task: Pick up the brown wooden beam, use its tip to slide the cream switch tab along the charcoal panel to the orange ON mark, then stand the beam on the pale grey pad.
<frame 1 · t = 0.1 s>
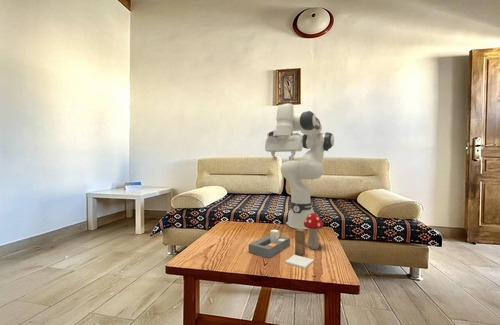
hand: (282, 160, 122), 39 cm above the table, tool pointing down, fingers open, 8 cm apart
brown wooden beam: (299, 254, 97), on the table
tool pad: (299, 262, 90), on the table
switch panel: (270, 248, 103), on the table
decorative mushroom: (313, 247, 107), on the table
switch tab: (274, 236, 107), point 4 cm above the table, slide at 0.0 cm
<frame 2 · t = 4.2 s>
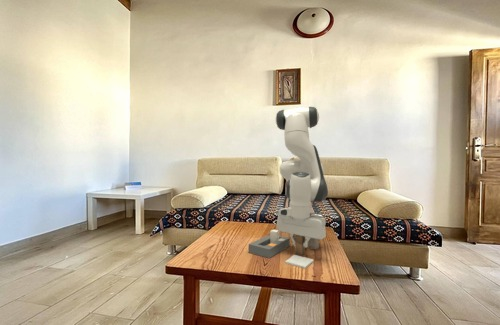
hand: (300, 245, 97), 4 cm above the table, tool pointing down, fingers closed on brown wooden beam, 3 cm apart
brown wooden beam: (299, 254, 97), on the table, touching gripper
everything else where it was.
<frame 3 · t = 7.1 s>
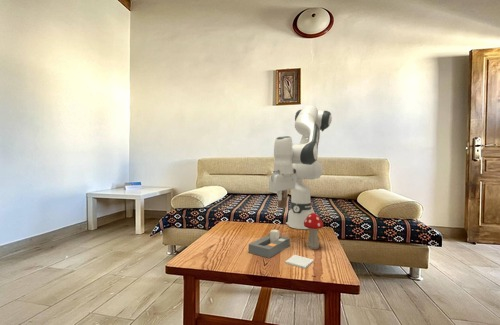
hand: (282, 199, 112), 20 cm above the table, tool pointing down, fingers closed on brown wooden beam, 3 cm apart
brown wooden beam: (282, 207, 112), point 16 cm above the table, touching gripper
everything else where it was.
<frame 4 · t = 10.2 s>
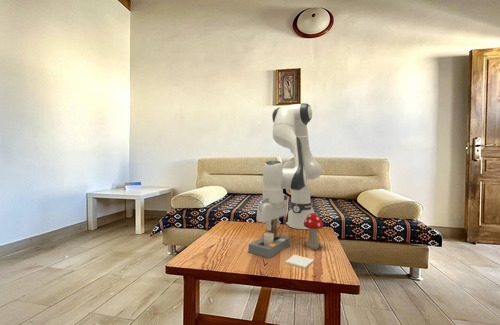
hand: (272, 228, 105), 8 cm above the table, tool pointing down, fingers closed on brown wooden beam, 3 cm apart
brown wooden beam: (272, 237, 105), point 5 cm above the table, touching gripper, switch tab
switch tab: (268, 239, 102), point 4 cm above the table, slide at 5.2 cm, touching brown wooden beam
everything else where it was.
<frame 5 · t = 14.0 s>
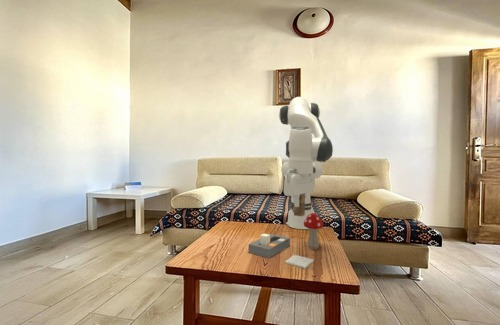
hand: (299, 205, 90), 21 cm above the table, tool pointing down, fingers closed on brown wooden beam, 3 cm apart
brown wooden beam: (299, 215, 90), point 18 cm above the table, touching gripper
switch tab: (265, 241, 100), point 4 cm above the table, slide at 8.0 cm
everything else where it was.
when the fingers open (5 cm above the table, at t = 17.3 s): brown wooden beam stays where it is, resting on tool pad.
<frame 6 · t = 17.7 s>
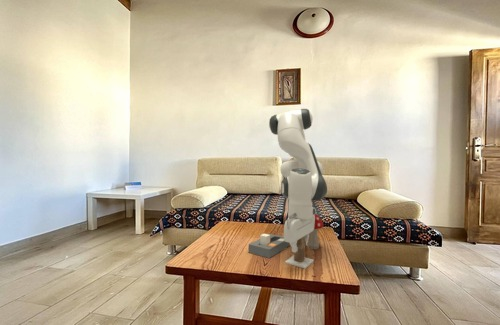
hand: (299, 248, 90), 5 cm above the table, tool pointing down, fingers open, 7 cm apart
brown wooden beam: (299, 260, 90), point 1 cm above the table, touching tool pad
everything else where it was.
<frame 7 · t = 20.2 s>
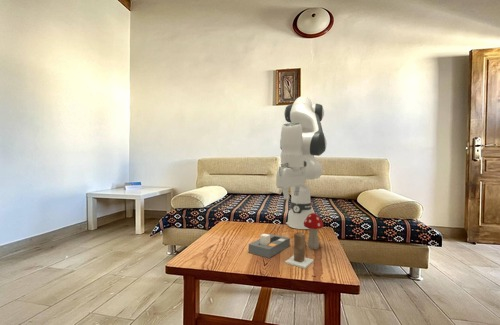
hand: (291, 197, 96), 24 cm above the table, tool pointing down, fingers open, 8 cm apart
nothing on the table moved.
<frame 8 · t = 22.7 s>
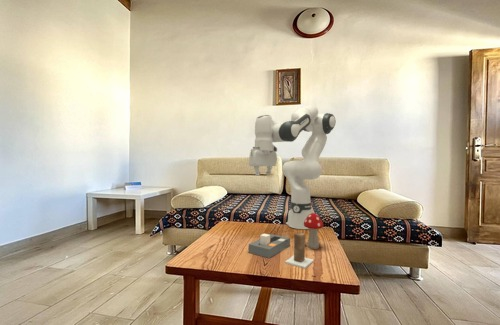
hand: (263, 175, 119), 31 cm above the table, tool pointing down, fingers open, 8 cm apart
nothing on the table moved.
at the end: switch tab slide at 8.0 cm; brown wooden beam 0.1 cm off-centre on the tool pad, point 0.6 cm above the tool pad's base; brown wooden beam tilted 0° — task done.
